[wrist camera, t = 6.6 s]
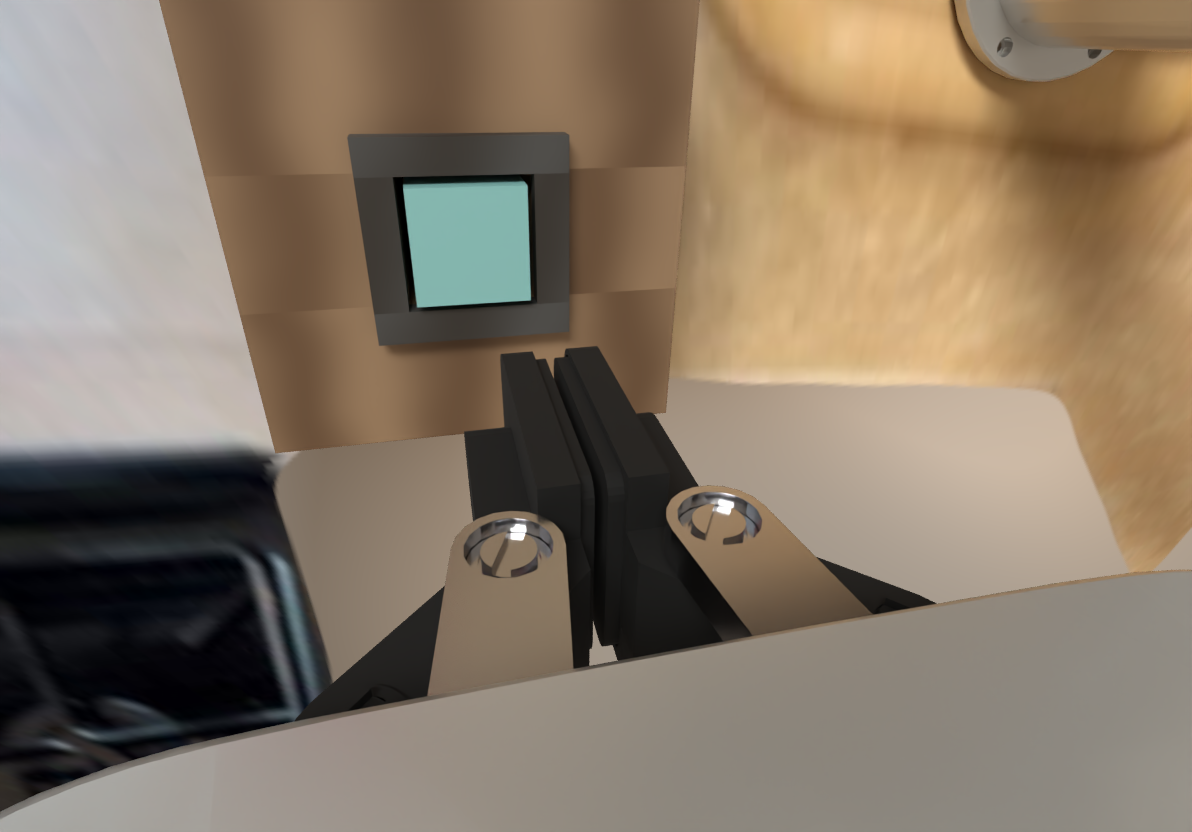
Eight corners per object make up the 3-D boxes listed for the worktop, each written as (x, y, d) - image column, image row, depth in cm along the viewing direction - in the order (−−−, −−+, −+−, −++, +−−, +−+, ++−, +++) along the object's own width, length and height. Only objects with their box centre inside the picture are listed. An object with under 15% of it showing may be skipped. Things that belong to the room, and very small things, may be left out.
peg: (495, 143, 31) (527, 185, 22) (499, 231, 33) (530, 300, 24) (404, 144, 30) (403, 188, 22) (414, 234, 32) (417, 307, 24)
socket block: (625, -8, 29) (710, -22, 21) (613, 334, 37) (671, 421, 29) (224, -23, 26) (137, -46, 18) (305, 357, 34) (272, 464, 26)
